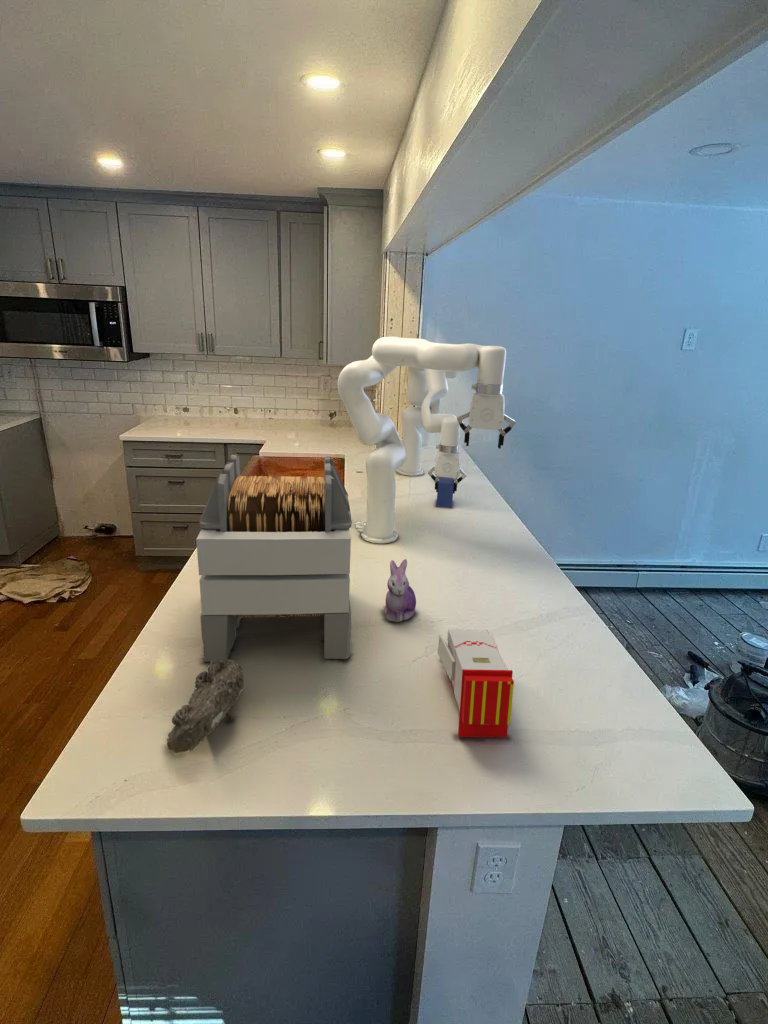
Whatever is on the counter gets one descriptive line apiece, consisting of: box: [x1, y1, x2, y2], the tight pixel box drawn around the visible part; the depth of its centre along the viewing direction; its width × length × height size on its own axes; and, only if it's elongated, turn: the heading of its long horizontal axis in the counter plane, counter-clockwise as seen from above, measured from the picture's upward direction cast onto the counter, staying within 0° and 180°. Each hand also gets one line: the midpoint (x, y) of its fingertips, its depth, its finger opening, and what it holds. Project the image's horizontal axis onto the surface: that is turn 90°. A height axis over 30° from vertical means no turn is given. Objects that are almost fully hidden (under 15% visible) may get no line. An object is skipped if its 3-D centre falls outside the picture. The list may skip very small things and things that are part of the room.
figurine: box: [384, 558, 417, 623], centre depth 145 cm, size 9×10×15 cm
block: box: [435, 477, 455, 509], centre depth 231 cm, size 6×9×10 cm
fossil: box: [166, 658, 245, 754], centre depth 106 cm, size 22×10×15 cm
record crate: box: [195, 453, 353, 663], centre depth 134 cm, size 34×33×41 cm
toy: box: [437, 628, 515, 738], centre depth 117 cm, size 12×13×30 cm
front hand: (483, 446), depth 172 cm, fingers open, 9 cm apart
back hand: (445, 491), depth 231 cm, fingers closed on block, 6 cm apart
